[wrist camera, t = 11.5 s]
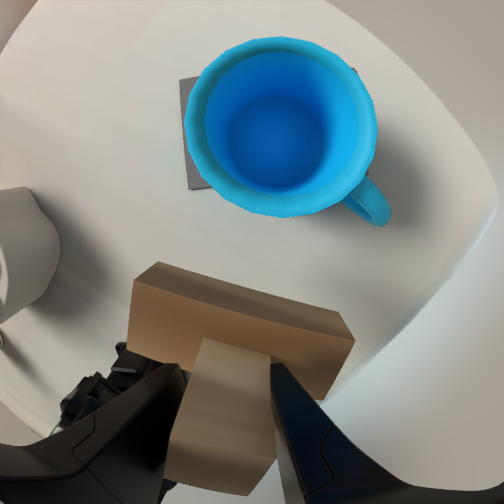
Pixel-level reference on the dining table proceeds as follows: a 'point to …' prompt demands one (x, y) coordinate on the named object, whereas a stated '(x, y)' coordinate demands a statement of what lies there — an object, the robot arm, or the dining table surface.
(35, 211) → the lumpy-topped squat cylinder
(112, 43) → the dining table surface
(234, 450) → the wooden t-shaped block
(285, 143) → the mug
